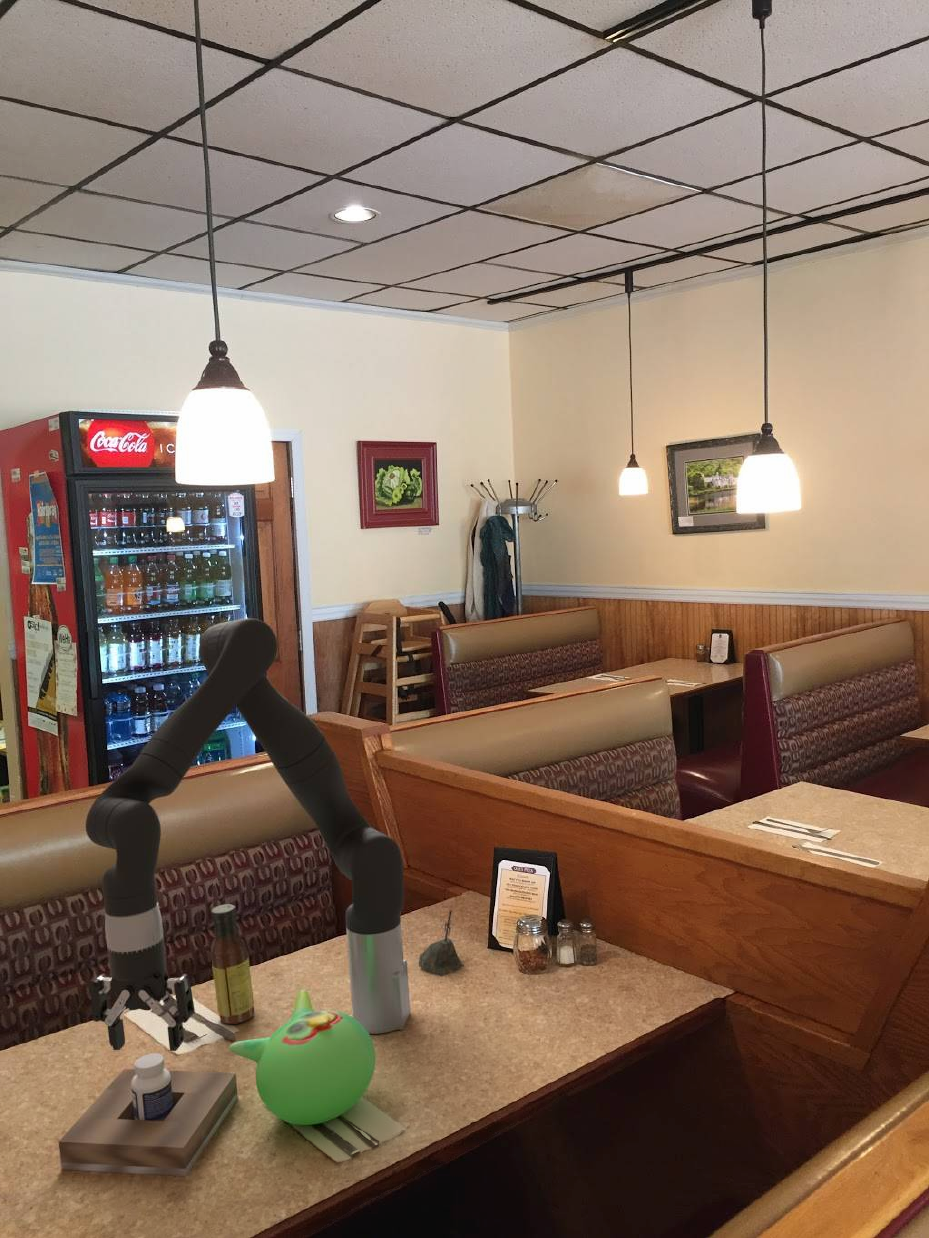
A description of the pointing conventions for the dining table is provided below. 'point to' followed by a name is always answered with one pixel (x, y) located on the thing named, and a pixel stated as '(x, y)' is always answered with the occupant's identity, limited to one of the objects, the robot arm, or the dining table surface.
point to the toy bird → (311, 1064)
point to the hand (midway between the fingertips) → (147, 1047)
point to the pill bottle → (151, 1089)
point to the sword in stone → (441, 956)
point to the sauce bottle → (231, 968)
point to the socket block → (149, 1127)
